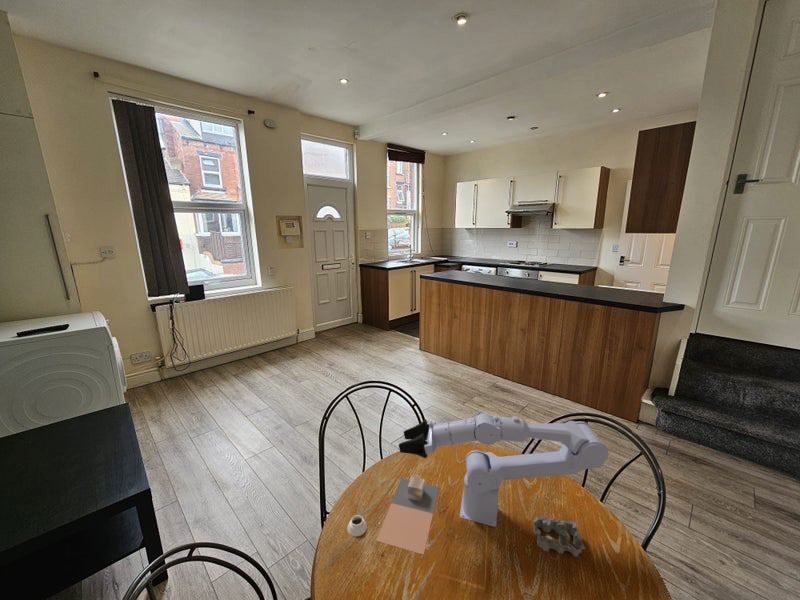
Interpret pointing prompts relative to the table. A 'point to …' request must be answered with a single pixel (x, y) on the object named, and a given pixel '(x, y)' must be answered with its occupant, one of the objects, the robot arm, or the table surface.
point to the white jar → (357, 527)
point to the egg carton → (564, 536)
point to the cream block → (416, 488)
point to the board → (409, 519)
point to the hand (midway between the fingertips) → (402, 441)
